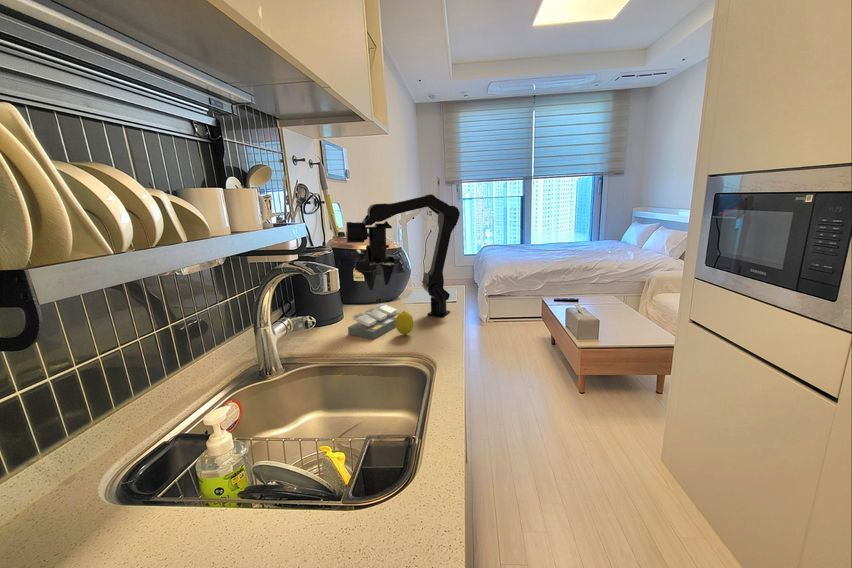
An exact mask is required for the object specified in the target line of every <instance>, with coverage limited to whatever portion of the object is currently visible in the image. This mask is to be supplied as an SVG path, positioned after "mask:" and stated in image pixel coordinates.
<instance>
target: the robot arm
mask: <svg viewBox="0 0 852 568" xmlns="http://www.w3.org/2000/svg"><path fill="white" fill-rule="evenodd" d="M423 208H428V209H430V210H431V211H432V213H433V212H434V213H435V214H436V215H437V226H438V233H437V238H436V241H435V247H434V251H433V256H432V260H431V261H432V262H431V264H430V268H429V270H428V271H427V272H425V271H424V272H423V278H422V281H421V283H422V288H423V290H424V291H425V292H427V293H428V295H429V296H430V311H429V312H427V316H433V317H441V318H444V317H445V316H447V315H449V314H450V313H451V310H448V307H447V301H448V300H449V298H450V295H451V294H450V293H449V292H448V291H447V290H446V289H444V284H445V283H444V282H445V279H444V267H445V262H446V258H447V253H448V250H449V246H450V245H449V244H450V240H451V235H452V233H453V231H454V229H455V227H456V226H457V223H459V222H458V221H459V219H460V215H461V214H460V213H461V212H460V210H459V208H458V207H456V206H454V205H449V204H448V203H446V202H445V201H442V200H441V199H439V198H438V197H436V196H435V195H434V194H425V195H423V196H419V197H418V196H417V197H414V198H410V199H405V200H401V201H397V202H392V203H391V202H388V203H387V202H386V203H385V202H384V203H373V204H371V205H369V206H368V208H367V212H366V214H367V215H365V217H364V218H363V220H362V221H361V222H358V221H357V222H352V221H347V222H345V223H346V224H345V225H346V226H345V227H346V228H345V229H346V231H345V239H346V243H347V244H354V243H355V244H357V243H358V244H359V243H365V241H366V240H368V244H367V245H366V246H365V250H361V249H359V248H357V249H355V250H353V251H352V258H353V260H355V261H356V262H355V263H354V270H355V271H357V272H358V273H361V274H362V276H364V279H365V281H366V284H367V286H368V289H369V291H373V290H374V287H375V282H376V277H377V273H378V271H377V266H380V267H381V268H382V270H383V271H382V272H383V280H384V285H386V286H388V285H389V283H390V280H391V279H392V277H393V274H394V272H395V271H396V268H397V267H398V265H399V264H400V262H401V261H400V260H401V259H400V256H399V255H395V254H387V249H389V248H390V245H389V244H387V229H392V228H393V226H392V225H390V224H389V221H387V220H388V219H390V218H392V217H394V216H396V215H399V214H403V213H407V212H411V211H416V210H419V209H423ZM383 221H384V222H383ZM382 222H383V223H382ZM372 225H374V226H372Z"/></svg>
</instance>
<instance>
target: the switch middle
mask: <svg viewBox="0 0 852 568" xmlns="http://www.w3.org/2000/svg"><path fill="white" fill-rule="evenodd" d="M363 314H364V315H366V316H369V317H372V318H374V319H377V320H379V321H381V320H383V319H385V318H386V317H387V314H385V313H382V312H381V311H379V310H376V309H375V308H373V307H371V308H368V309H367V310H365V311H364V312H363Z"/></svg>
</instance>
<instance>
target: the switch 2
mask: <svg viewBox="0 0 852 568" xmlns="http://www.w3.org/2000/svg"><path fill="white" fill-rule="evenodd" d="M374 309H375V310H378V311H380V312H383V313H386V314H388V315H392V314H394V313H398V309H396V308H394V307H392V306H390V305H387V304H385V303H384V302H383V303H380V304H378V305H375V308H374Z"/></svg>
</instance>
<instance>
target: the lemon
mask: <svg viewBox="0 0 852 568" xmlns="http://www.w3.org/2000/svg"><path fill="white" fill-rule="evenodd" d="M399 313H400V314H398V316H397V318H396V327H395V328H396V330H397V332H398V333H400V334H402V335H403V336H407V335H408V334H410V333H411V332H412V331H413V328H414V319H413V315H411V313H409V312H407V311H405V310H403V311H402V312H399Z"/></svg>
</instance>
